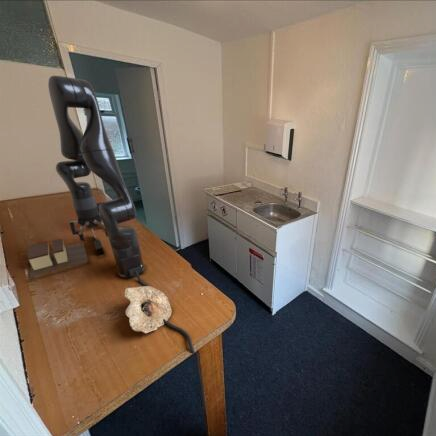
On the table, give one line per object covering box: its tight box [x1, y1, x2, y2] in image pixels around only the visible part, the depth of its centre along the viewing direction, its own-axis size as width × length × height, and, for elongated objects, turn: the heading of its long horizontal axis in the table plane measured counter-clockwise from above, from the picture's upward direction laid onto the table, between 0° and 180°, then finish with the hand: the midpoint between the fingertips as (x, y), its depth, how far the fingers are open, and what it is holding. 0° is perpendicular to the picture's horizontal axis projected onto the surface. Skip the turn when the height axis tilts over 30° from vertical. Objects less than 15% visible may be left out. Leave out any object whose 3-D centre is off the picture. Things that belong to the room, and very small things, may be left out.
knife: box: [91, 228, 105, 256], centre depth 114 cm, size 21×2×6 cm, turn 44°
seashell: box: [124, 285, 172, 334], centre depth 81 cm, size 18×14×8 cm
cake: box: [27, 241, 53, 270], centre depth 100 cm, size 12×6×6 cm, turn 44°
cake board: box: [29, 242, 89, 278], centre depth 104 cm, size 20×18×2 cm
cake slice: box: [51, 238, 68, 264], centre depth 104 cm, size 12×3×6 cm, turn 44°
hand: (95, 237), depth 109 cm, fingers open, 8 cm apart
